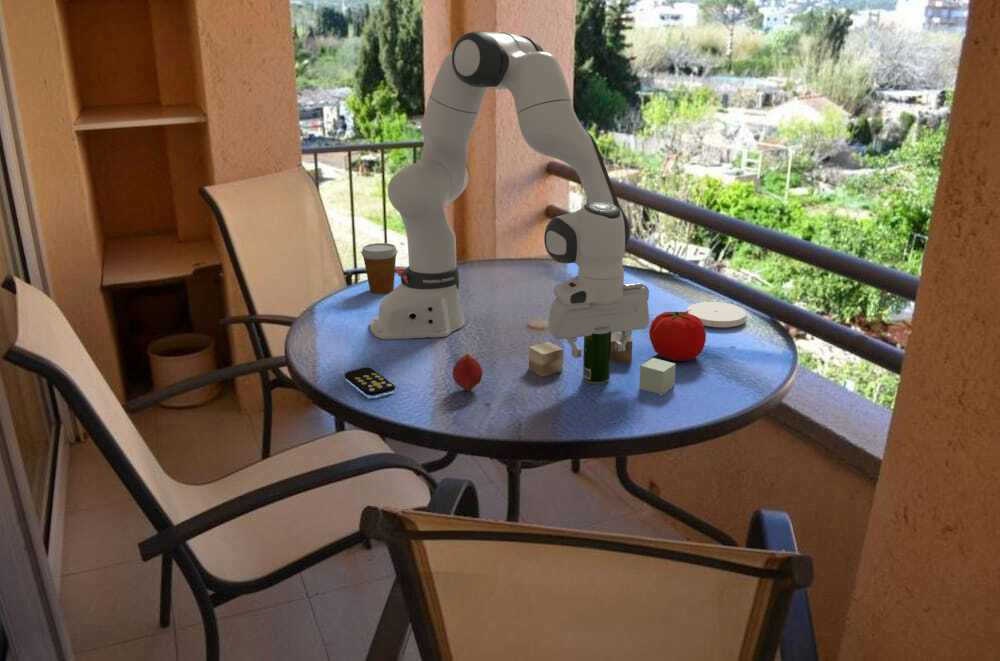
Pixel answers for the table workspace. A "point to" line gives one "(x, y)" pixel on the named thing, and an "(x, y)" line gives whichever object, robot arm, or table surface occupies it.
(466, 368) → the onion
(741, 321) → the plastic lid
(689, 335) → the tomato
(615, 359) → the walnut block
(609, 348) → the beer can
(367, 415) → the table surface
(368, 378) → the remote control
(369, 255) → the disposable coffee cup
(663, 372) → the sage painted block
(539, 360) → the beech block
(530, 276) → the table surface
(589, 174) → the robot arm
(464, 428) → the table surface
